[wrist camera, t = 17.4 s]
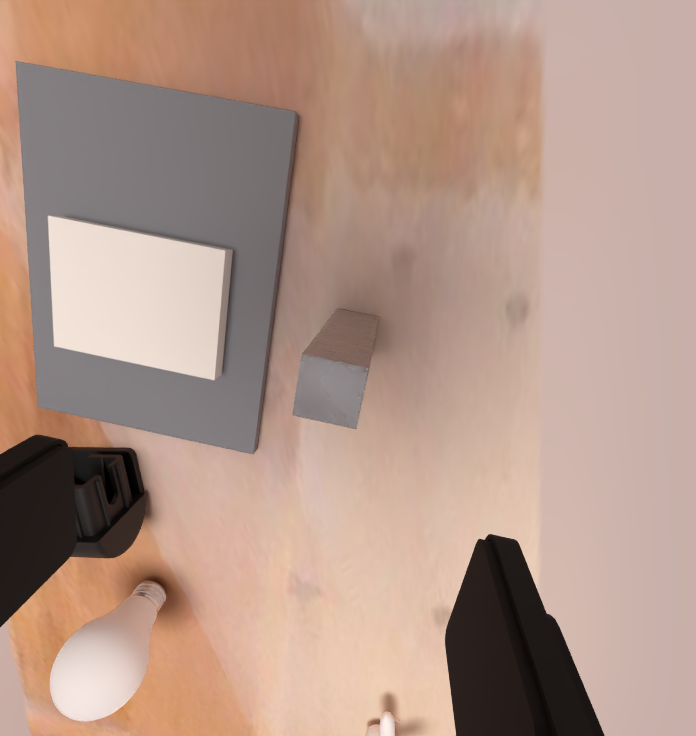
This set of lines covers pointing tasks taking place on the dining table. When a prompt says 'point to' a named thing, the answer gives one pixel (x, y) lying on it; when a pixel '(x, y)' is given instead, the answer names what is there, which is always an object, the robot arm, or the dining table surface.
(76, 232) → the tile
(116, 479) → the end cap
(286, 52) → the dining table surface
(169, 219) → the mat
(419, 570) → the dining table surface
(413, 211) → the dining table surface
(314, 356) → the metal bar
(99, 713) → the light bulb
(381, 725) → the rabbit figurine
